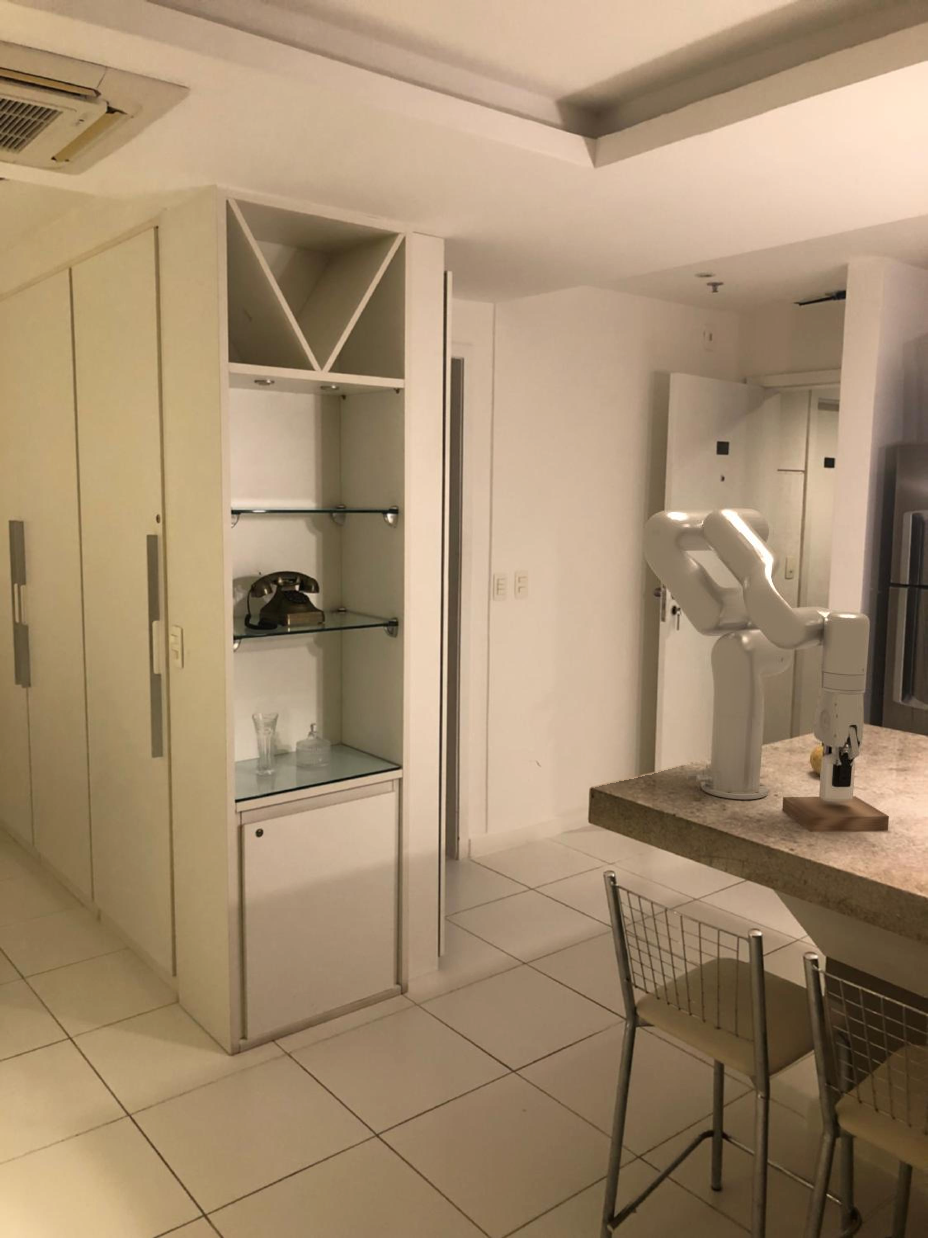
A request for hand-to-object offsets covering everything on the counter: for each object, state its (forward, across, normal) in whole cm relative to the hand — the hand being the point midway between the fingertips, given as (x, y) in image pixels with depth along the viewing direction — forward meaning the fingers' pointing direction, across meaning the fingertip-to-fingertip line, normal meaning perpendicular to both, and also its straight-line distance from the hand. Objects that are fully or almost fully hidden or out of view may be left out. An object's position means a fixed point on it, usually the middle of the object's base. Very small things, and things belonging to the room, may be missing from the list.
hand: (836, 782), depth 183 cm
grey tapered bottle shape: (+3, 0, 0) cm, 3 cm away
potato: (+7, -30, +12) cm, 33 cm away
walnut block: (+7, 0, 0) cm, 7 cm away
